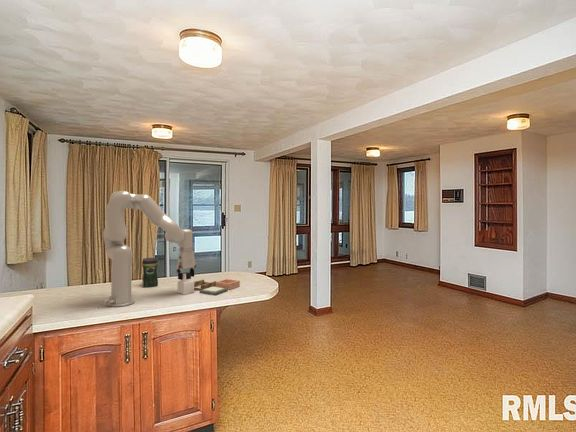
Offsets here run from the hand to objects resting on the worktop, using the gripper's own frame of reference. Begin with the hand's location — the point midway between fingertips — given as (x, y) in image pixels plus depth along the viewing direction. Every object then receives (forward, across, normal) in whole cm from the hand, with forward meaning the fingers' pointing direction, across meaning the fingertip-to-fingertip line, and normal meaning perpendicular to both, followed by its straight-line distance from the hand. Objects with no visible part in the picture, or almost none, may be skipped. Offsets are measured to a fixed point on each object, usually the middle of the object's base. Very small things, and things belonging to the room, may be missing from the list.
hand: (186, 277), depth 203 cm
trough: (+9, +16, +1) cm, 18 cm away
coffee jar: (+9, +2, +33) cm, 34 cm away
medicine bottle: (+9, 0, 0) cm, 9 cm away
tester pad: (+8, +9, -14) cm, 18 cm away
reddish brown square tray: (+9, +23, -14) cm, 28 cm away
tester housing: (+9, +9, -14) cm, 19 cm away
